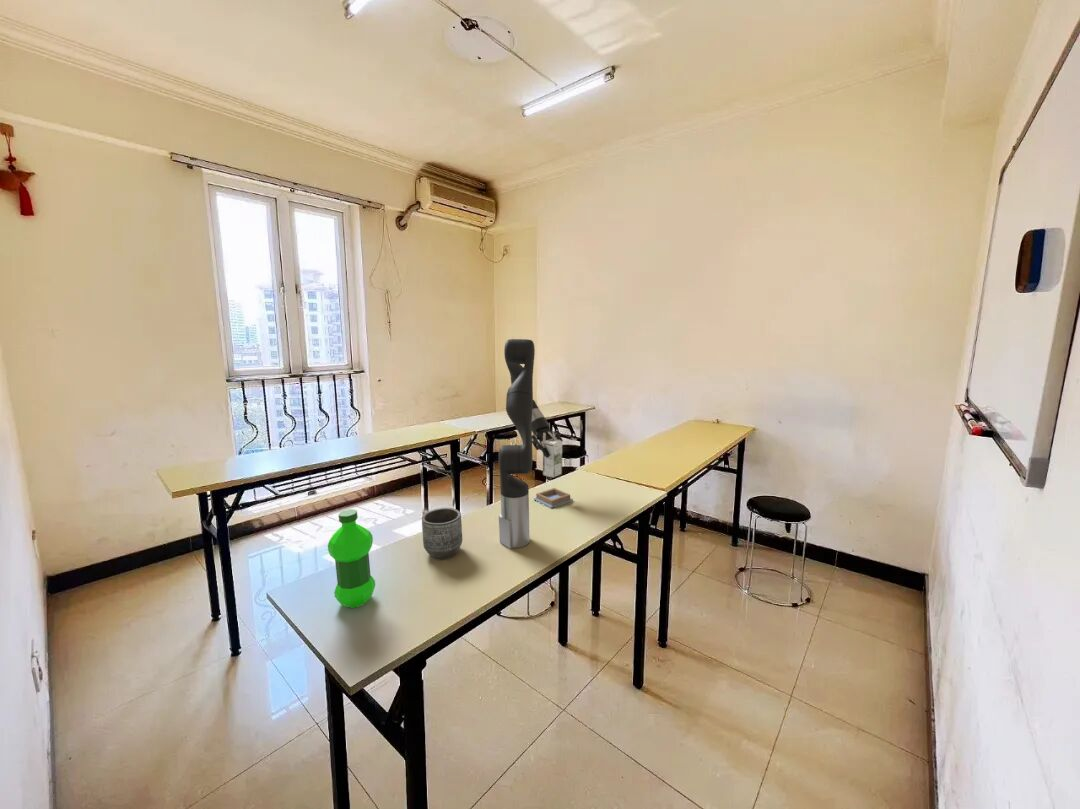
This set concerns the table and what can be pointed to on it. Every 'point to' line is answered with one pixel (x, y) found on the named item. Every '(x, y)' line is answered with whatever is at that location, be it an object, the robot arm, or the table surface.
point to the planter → (442, 532)
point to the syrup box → (553, 458)
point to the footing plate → (553, 497)
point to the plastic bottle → (352, 561)
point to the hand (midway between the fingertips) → (555, 454)
